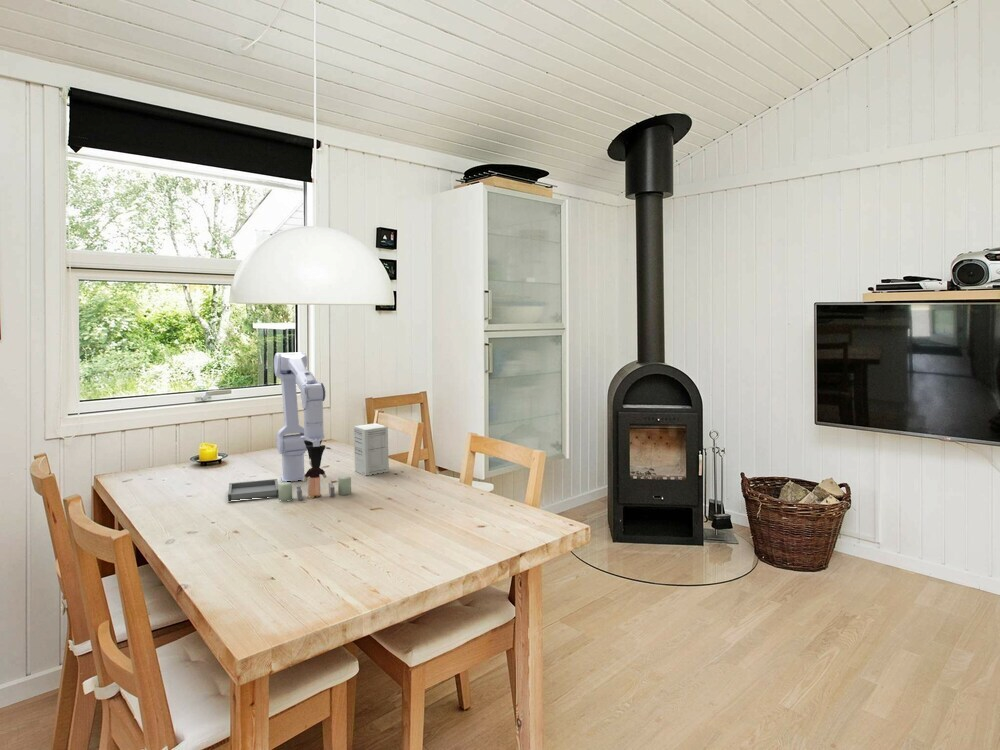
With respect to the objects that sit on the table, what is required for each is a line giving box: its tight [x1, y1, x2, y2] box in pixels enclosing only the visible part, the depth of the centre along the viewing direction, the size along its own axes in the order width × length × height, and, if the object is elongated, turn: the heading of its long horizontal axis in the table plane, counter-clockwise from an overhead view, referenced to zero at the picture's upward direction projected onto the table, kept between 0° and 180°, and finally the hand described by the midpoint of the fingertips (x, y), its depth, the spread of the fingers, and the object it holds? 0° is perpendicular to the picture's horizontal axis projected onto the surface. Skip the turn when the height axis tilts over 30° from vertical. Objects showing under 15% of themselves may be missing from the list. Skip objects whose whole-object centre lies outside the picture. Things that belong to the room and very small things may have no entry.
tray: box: [227, 478, 279, 502], centre depth 196 cm, size 14×15×2 cm
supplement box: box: [353, 422, 390, 476], centre depth 224 cm, size 10×9×17 cm
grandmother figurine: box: [302, 459, 327, 499], centre depth 193 cm, size 8×4×13 cm, turn 143°
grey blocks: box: [296, 482, 336, 501], centre depth 194 cm, size 5×11×3 cm, turn 112°
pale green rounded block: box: [278, 481, 293, 502], centre depth 190 cm, size 4×4×5 cm
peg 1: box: [337, 476, 352, 496], centre depth 197 cm, size 4×4×5 cm
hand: (314, 464), depth 193 cm, fingers open, 7 cm apart
